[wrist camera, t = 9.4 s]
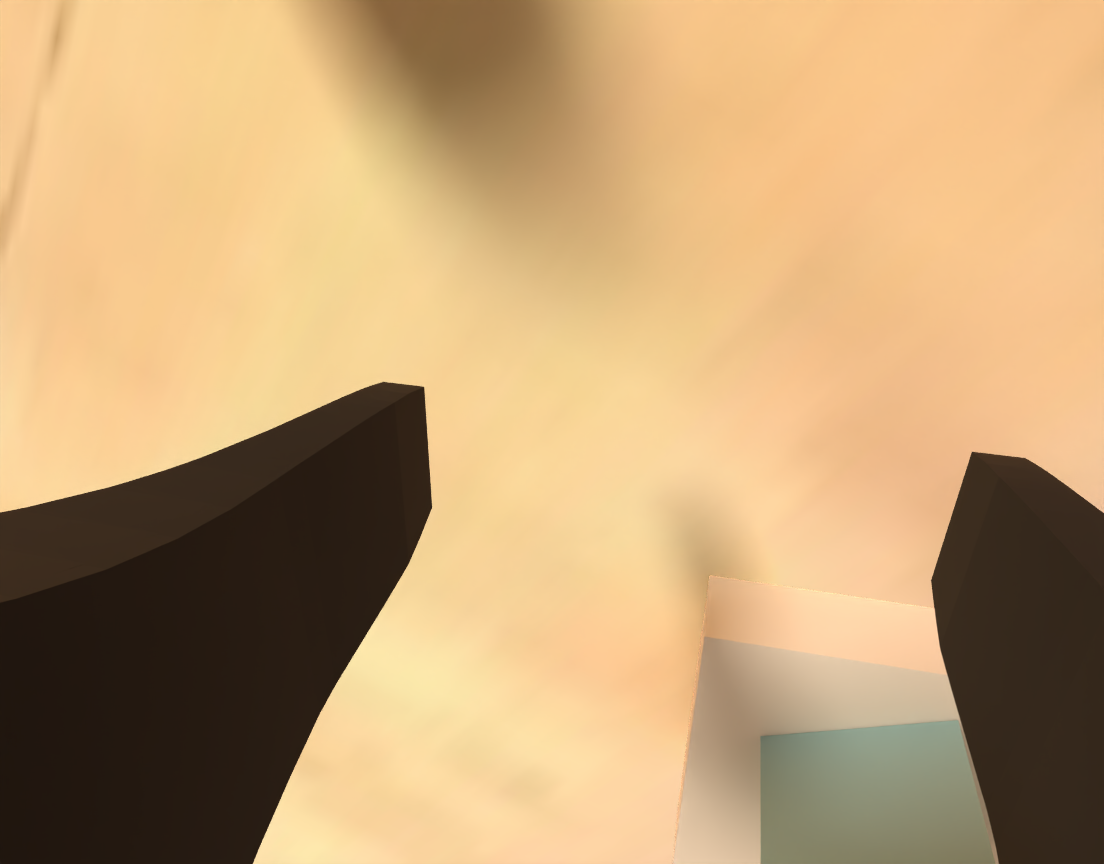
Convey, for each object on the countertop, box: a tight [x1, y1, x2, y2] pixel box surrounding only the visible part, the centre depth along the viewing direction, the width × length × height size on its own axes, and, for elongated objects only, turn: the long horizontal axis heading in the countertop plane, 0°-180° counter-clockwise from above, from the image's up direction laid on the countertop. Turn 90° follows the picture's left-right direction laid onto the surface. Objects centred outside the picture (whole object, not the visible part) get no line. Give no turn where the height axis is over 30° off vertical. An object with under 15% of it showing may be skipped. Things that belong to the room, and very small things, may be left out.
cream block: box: [673, 575, 999, 864], centre depth 24 cm, size 10×10×3 cm
